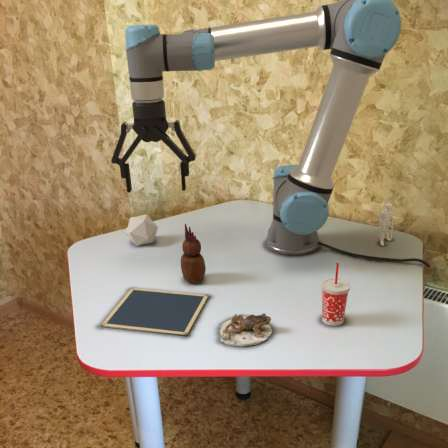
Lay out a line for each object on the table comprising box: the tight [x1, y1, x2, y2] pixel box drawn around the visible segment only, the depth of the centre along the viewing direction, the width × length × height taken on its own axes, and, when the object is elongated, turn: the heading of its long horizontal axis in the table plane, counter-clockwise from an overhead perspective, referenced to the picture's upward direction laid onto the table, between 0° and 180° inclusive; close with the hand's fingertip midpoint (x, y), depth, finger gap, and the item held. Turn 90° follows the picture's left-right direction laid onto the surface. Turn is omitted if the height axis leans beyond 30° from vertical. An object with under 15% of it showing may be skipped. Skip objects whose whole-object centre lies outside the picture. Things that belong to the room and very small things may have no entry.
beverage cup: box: [320, 262, 351, 327], centre depth 115 cm, size 6×6×14 cm
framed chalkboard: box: [100, 287, 210, 337], centre depth 124 cm, size 20×18×1 cm
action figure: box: [376, 202, 398, 247], centre depth 152 cm, size 6×4×12 cm, turn 123°
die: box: [125, 214, 159, 247], centre depth 158 cm, size 8×9×10 cm
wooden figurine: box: [180, 223, 207, 284], centre depth 133 cm, size 7×6×15 cm
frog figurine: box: [219, 313, 273, 348], centre depth 115 cm, size 12×12×4 cm
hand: (156, 190), depth 133 cm, fingers open, 13 cm apart
